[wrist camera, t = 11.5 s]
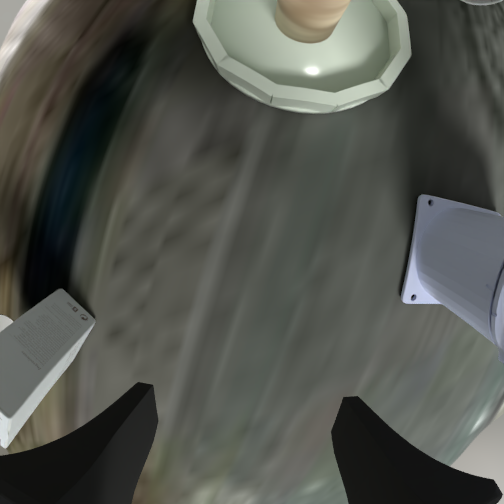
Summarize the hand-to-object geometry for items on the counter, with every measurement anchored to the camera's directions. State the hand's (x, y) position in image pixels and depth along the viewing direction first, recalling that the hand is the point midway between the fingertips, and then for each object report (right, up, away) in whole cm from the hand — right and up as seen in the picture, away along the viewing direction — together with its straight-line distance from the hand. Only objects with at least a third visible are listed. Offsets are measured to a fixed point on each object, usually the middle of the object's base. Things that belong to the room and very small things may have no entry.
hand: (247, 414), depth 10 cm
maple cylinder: (+4, +21, +5) cm, 22 cm away
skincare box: (-15, 0, +11) cm, 19 cm away
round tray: (+4, +22, +6) cm, 23 cm away
